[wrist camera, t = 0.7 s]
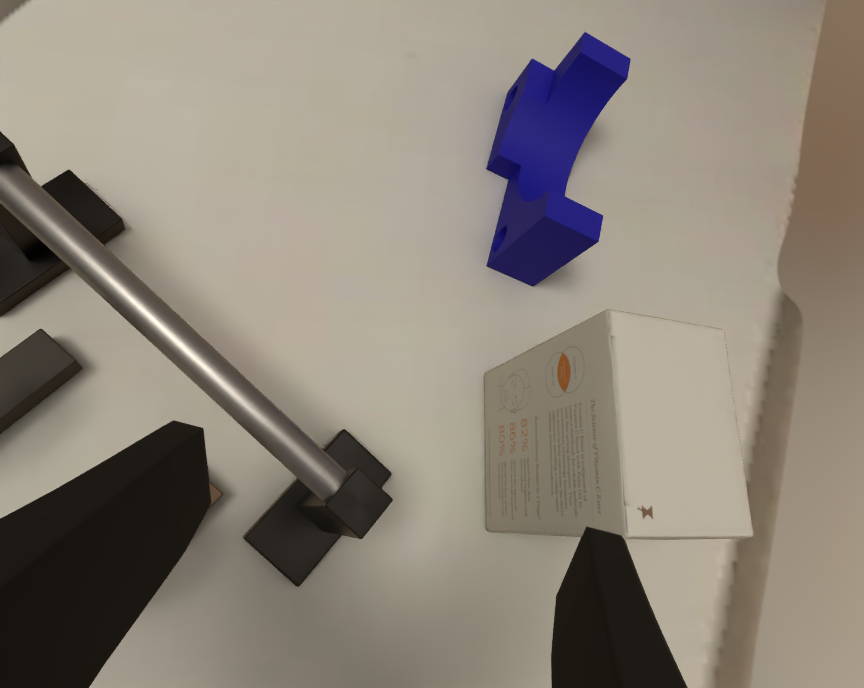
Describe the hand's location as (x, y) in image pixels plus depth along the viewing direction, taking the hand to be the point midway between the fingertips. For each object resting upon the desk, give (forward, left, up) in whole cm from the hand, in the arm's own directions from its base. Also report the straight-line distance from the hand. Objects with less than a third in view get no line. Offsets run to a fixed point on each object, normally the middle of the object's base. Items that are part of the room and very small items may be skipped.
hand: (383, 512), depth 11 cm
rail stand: (+1, +7, -15) cm, 17 cm away
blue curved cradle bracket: (+22, +3, -16) cm, 27 cm away
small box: (+10, -7, -16) cm, 20 cm away
